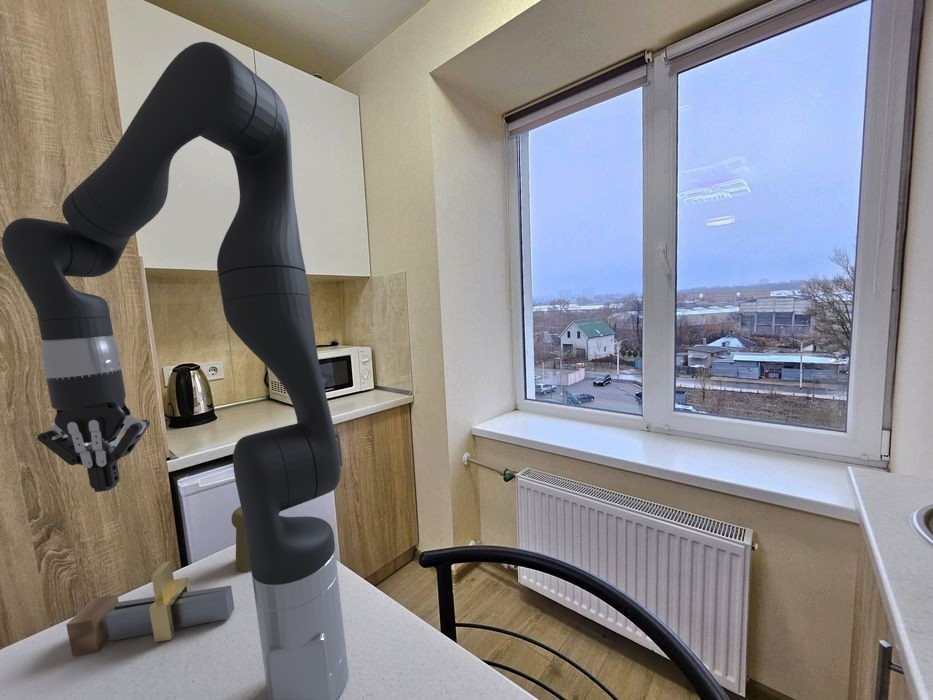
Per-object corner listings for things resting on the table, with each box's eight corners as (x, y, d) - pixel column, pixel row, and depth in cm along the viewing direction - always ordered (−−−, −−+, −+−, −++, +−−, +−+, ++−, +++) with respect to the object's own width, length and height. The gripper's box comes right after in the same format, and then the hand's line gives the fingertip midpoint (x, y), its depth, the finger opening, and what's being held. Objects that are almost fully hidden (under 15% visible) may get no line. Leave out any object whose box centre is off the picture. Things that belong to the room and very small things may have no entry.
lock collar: (154, 642, 56) (144, 582, 55) (178, 610, 62) (169, 556, 61) (171, 639, 57) (161, 579, 55) (193, 608, 62) (184, 553, 61)
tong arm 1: (109, 640, 57) (105, 616, 56) (114, 635, 58) (110, 610, 57) (229, 618, 60) (225, 594, 59) (231, 613, 61) (228, 589, 60)
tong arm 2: (118, 631, 58) (113, 606, 58) (123, 625, 59) (118, 601, 59) (231, 613, 61) (228, 589, 60) (234, 608, 61) (231, 585, 61)
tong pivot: (72, 656, 55) (66, 624, 54) (99, 627, 60) (93, 598, 59) (98, 651, 55) (92, 620, 55) (122, 623, 60) (117, 594, 60)
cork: (227, 569, 72) (219, 514, 71) (253, 549, 78) (247, 497, 76) (253, 574, 70) (245, 517, 69) (278, 553, 76) (271, 500, 75)
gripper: (155, 362, 58) (172, 472, 60) (53, 370, 56) (75, 483, 58) (119, 370, 51) (140, 495, 53) (1, 379, 49) (28, 509, 51)
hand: (106, 488), depth 56 cm, fingers closed
